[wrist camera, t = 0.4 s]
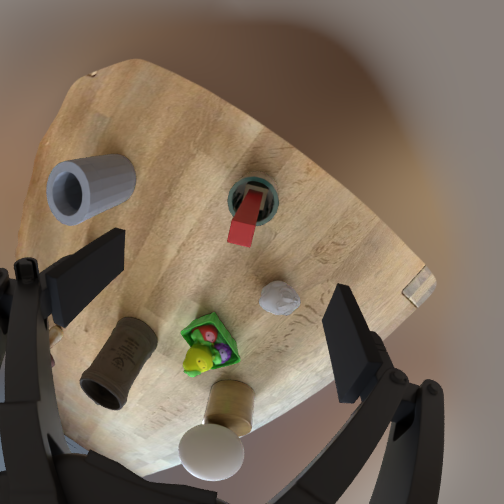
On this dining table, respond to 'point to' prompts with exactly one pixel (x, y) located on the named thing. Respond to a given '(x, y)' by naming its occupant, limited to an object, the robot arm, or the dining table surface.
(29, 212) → the dining table surface
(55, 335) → the decorative mushroom
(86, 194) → the vase
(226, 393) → the lamp
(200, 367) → the fruit basket
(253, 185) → the paint brush
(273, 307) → the grey wrinkled ball
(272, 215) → the pen pot
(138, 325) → the dark grey hollow cylinder
